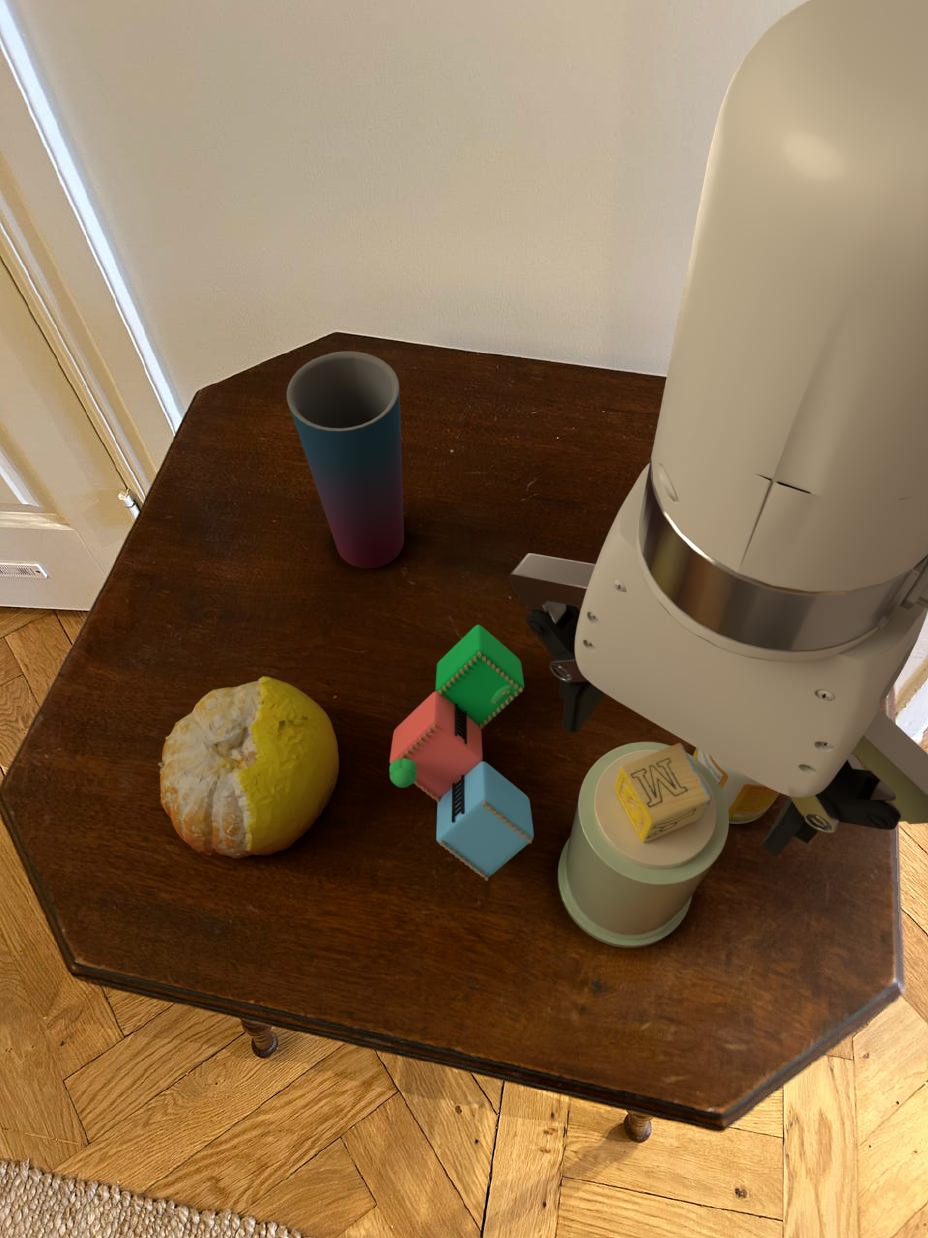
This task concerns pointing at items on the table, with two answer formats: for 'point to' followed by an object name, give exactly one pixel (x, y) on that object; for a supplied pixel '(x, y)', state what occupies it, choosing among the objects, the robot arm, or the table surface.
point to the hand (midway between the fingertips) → (680, 763)
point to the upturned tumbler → (634, 858)
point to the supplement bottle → (738, 790)
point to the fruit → (249, 769)
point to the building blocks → (466, 754)
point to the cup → (353, 451)
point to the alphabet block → (662, 792)
